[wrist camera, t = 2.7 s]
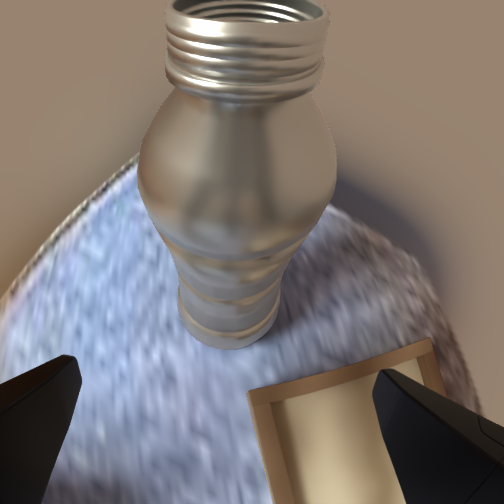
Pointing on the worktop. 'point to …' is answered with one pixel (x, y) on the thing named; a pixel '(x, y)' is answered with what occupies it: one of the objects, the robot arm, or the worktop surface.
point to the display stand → (334, 431)
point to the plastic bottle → (237, 157)
